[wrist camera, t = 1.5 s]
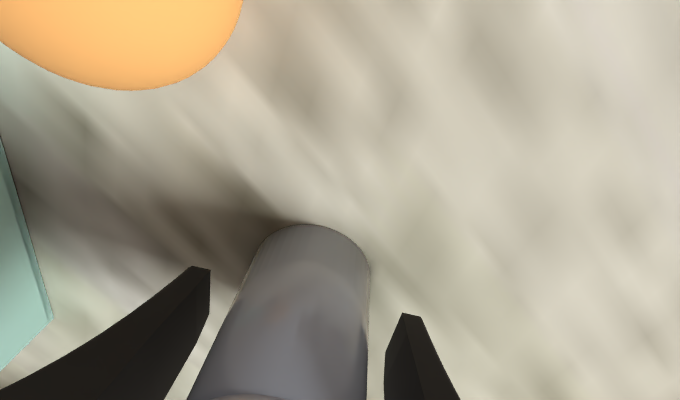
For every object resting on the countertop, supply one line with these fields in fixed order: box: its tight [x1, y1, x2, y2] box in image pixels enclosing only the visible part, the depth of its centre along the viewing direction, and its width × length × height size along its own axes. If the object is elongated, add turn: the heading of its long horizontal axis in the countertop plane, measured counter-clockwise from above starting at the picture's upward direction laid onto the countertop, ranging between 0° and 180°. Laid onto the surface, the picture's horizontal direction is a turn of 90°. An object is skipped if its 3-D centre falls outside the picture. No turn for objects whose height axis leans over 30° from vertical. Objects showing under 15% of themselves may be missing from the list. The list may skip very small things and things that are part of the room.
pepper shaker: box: [187, 225, 370, 400], centre depth 10 cm, size 4×4×7 cm
